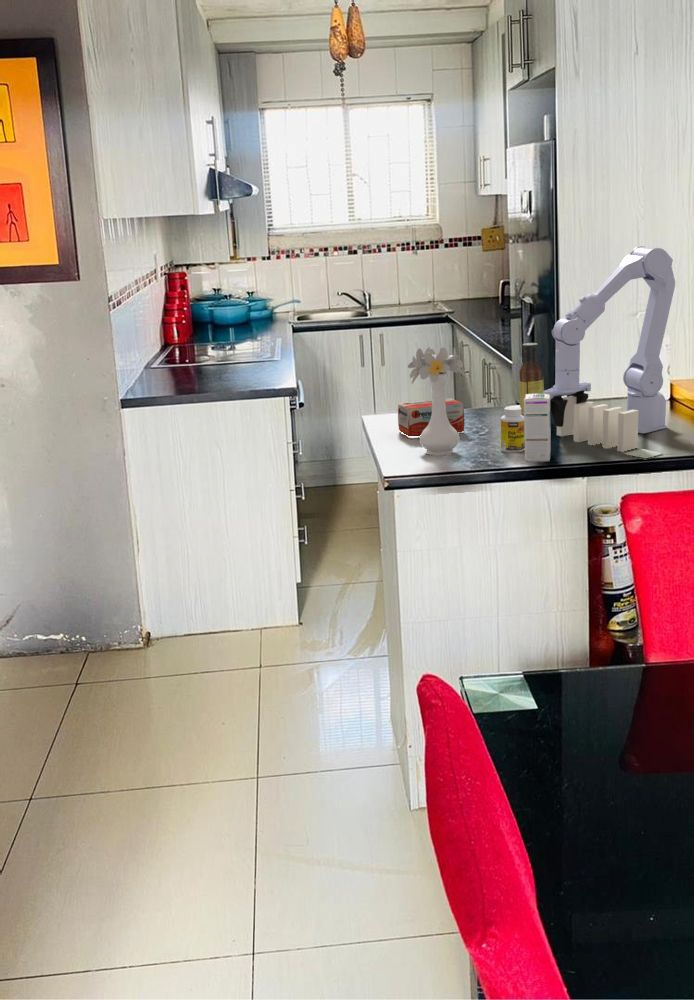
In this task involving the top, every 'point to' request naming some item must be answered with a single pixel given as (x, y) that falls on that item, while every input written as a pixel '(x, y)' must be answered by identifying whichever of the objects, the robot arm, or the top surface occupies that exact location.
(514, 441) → the supplement bottle
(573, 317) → the robot arm
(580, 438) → the domino
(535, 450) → the syrup box
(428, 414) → the medicine box
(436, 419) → the flower vase
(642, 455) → the felt pad
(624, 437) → the domino
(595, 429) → the domino
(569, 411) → the domino
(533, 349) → the sauce bottle
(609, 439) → the domino
